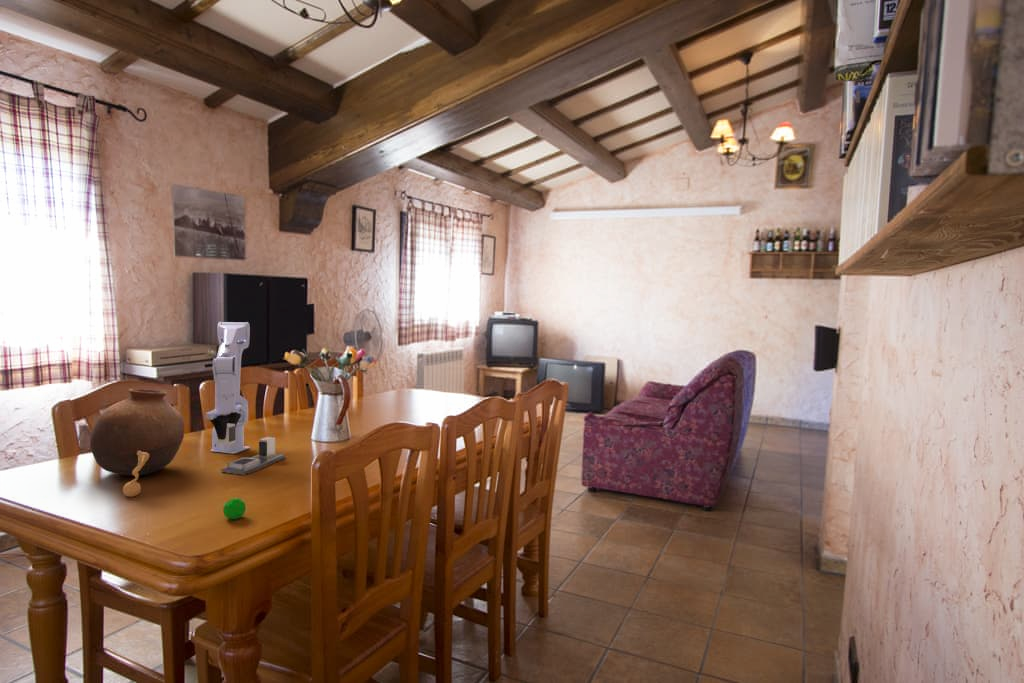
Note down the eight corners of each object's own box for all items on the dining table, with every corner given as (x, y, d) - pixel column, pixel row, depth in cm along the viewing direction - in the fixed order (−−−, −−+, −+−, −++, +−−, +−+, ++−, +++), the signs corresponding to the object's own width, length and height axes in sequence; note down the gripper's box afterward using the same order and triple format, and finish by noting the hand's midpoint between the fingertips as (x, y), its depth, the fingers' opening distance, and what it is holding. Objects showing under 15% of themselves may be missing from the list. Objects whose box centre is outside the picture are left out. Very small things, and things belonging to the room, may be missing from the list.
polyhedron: (235, 523, 141) (235, 503, 141) (218, 520, 143) (218, 501, 142) (250, 516, 146) (250, 496, 146) (233, 513, 147) (233, 494, 147)
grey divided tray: (221, 472, 179) (221, 449, 179) (264, 455, 198) (264, 434, 198) (244, 475, 177) (244, 452, 177) (285, 457, 197) (285, 436, 196)
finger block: (224, 441, 189) (224, 422, 189) (236, 442, 188) (236, 424, 188) (217, 443, 187) (217, 424, 186) (229, 445, 185) (229, 426, 185)
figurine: (124, 492, 160) (123, 448, 159) (150, 489, 162) (150, 446, 161) (121, 502, 152) (120, 456, 151) (149, 499, 155) (148, 453, 154)
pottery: (73, 483, 165) (70, 394, 163) (129, 460, 188) (127, 381, 186) (154, 487, 165) (153, 397, 163) (200, 463, 188) (199, 384, 186)
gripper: (219, 399, 178) (219, 444, 179) (251, 392, 192) (252, 433, 193) (199, 397, 180) (200, 442, 181) (233, 390, 194) (233, 432, 195)
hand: (225, 437), depth 187 cm, fingers closed on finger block, 3 cm apart
